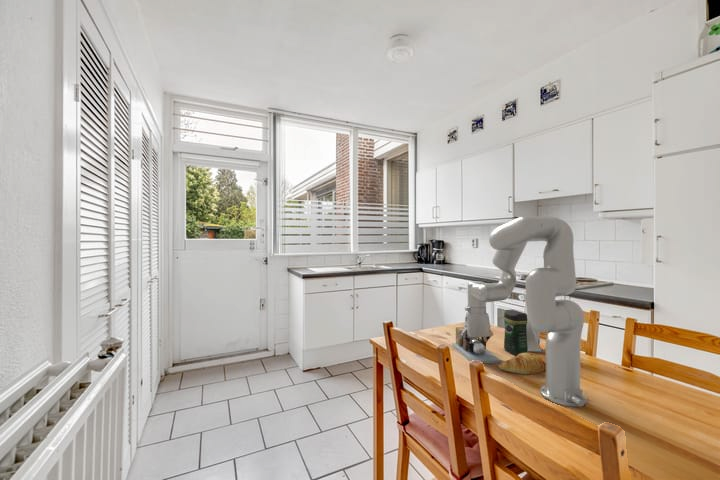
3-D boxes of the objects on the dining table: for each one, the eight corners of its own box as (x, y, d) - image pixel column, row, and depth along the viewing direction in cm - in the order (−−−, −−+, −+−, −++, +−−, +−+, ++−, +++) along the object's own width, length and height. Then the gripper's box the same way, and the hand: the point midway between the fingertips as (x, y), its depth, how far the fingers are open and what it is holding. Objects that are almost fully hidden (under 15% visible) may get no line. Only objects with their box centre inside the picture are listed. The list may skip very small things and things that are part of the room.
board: (500, 362, 132) (500, 360, 132) (472, 364, 131) (472, 361, 131) (476, 344, 154) (476, 342, 154) (452, 345, 153) (451, 343, 153)
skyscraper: (546, 353, 141) (546, 290, 140) (526, 353, 142) (526, 290, 142) (538, 347, 149) (539, 287, 149) (520, 346, 151) (520, 287, 150)
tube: (485, 354, 137) (485, 343, 137) (474, 355, 137) (474, 343, 137) (471, 343, 151) (471, 333, 151) (461, 344, 151) (461, 333, 151)
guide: (482, 350, 143) (482, 339, 143) (465, 351, 143) (465, 340, 142) (479, 347, 146) (479, 337, 146) (462, 348, 146) (462, 337, 145)
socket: (476, 345, 149) (476, 329, 149) (459, 346, 149) (459, 329, 148) (472, 342, 154) (472, 326, 153) (455, 343, 153) (455, 327, 153)
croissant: (503, 383, 122) (508, 369, 118) (491, 361, 130) (495, 348, 127) (555, 379, 124) (562, 365, 120) (540, 358, 133) (546, 344, 129)
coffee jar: (531, 354, 140) (531, 312, 140) (515, 356, 138) (515, 313, 138) (515, 347, 150) (515, 307, 149) (500, 348, 148) (500, 308, 147)
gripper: (461, 312, 135) (461, 355, 136) (499, 311, 137) (500, 353, 137) (454, 308, 143) (454, 349, 143) (491, 307, 144) (491, 347, 145)
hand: (477, 350), depth 140 cm, fingers closed on tube, 4 cm apart
